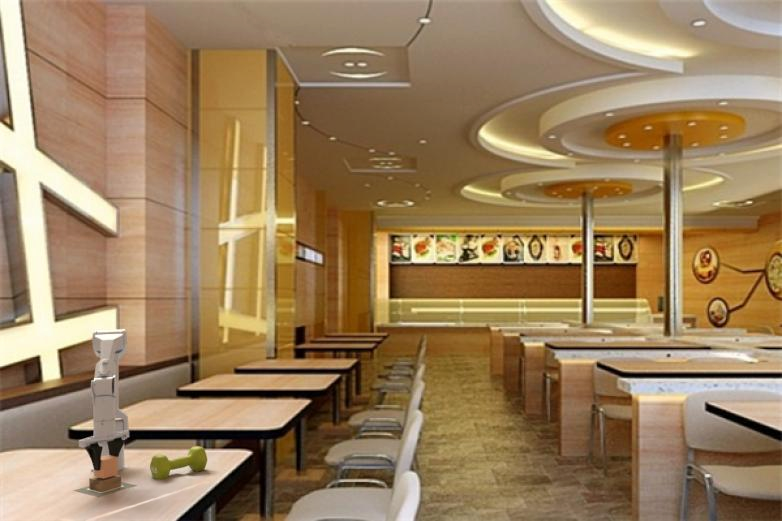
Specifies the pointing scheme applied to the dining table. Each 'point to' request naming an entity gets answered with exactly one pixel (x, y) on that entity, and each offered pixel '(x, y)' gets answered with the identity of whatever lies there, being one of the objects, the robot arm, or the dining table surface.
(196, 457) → the dumbbell
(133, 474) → the dining table surface
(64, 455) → the dining table surface
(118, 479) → the base block
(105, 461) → the top block
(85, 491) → the grey square base plate
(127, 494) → the dining table surface
